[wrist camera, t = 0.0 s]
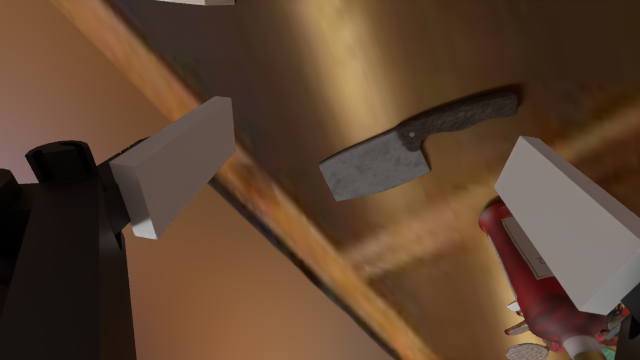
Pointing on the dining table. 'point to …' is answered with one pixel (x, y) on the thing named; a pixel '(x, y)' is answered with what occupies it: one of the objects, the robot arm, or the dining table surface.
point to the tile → (205, 2)
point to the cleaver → (406, 147)
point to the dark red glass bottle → (540, 288)
